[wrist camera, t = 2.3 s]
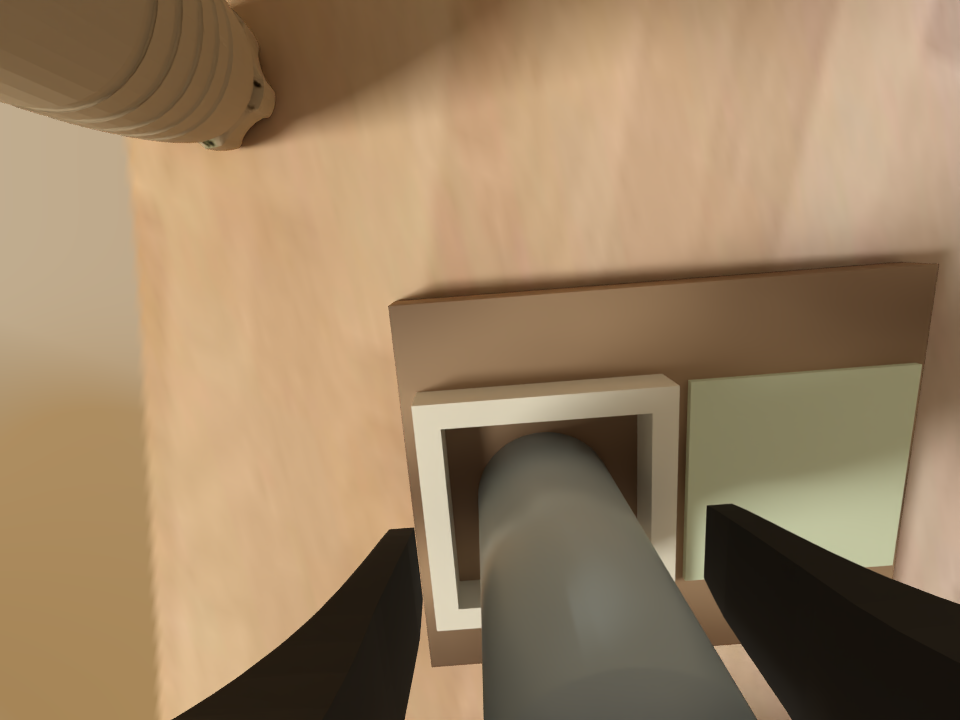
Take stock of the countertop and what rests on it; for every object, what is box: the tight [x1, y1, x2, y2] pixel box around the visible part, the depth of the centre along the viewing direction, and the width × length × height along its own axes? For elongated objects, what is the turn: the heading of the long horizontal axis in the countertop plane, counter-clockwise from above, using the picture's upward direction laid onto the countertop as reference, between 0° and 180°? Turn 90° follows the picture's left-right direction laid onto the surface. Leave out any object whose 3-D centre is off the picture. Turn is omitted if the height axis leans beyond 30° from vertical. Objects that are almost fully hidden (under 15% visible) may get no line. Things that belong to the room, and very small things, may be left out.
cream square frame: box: [411, 374, 680, 631], centre depth 14 cm, size 7×7×1 cm
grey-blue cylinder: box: [478, 432, 757, 720], centre depth 11 cm, size 4×4×8 cm
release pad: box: [683, 363, 922, 581], centre depth 14 cm, size 6×6×1 cm
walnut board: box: [388, 262, 939, 667], centre depth 15 cm, size 12×15×1 cm
